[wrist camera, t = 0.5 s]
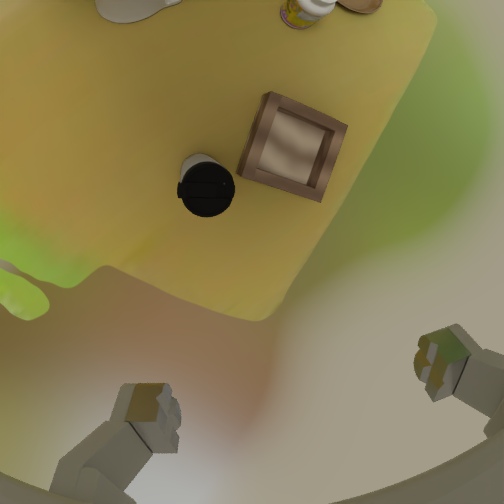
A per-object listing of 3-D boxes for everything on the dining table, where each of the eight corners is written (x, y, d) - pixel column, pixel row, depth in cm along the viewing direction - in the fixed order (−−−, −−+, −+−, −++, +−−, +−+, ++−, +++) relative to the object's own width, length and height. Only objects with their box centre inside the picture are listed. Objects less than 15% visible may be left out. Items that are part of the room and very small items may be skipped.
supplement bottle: (284, -3, 40) (311, -31, 29) (315, 10, 42) (348, -13, 31) (275, 22, 42) (301, -4, 31) (307, 35, 44) (340, 14, 33)
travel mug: (180, 152, 48) (179, 161, 30) (218, 154, 50) (240, 165, 32) (177, 187, 50) (175, 218, 32) (215, 189, 52) (234, 220, 34)
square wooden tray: (263, 94, 47) (271, 91, 43) (334, 125, 52) (347, 125, 48) (235, 173, 52) (241, 176, 47) (309, 196, 57) (320, 202, 52)
